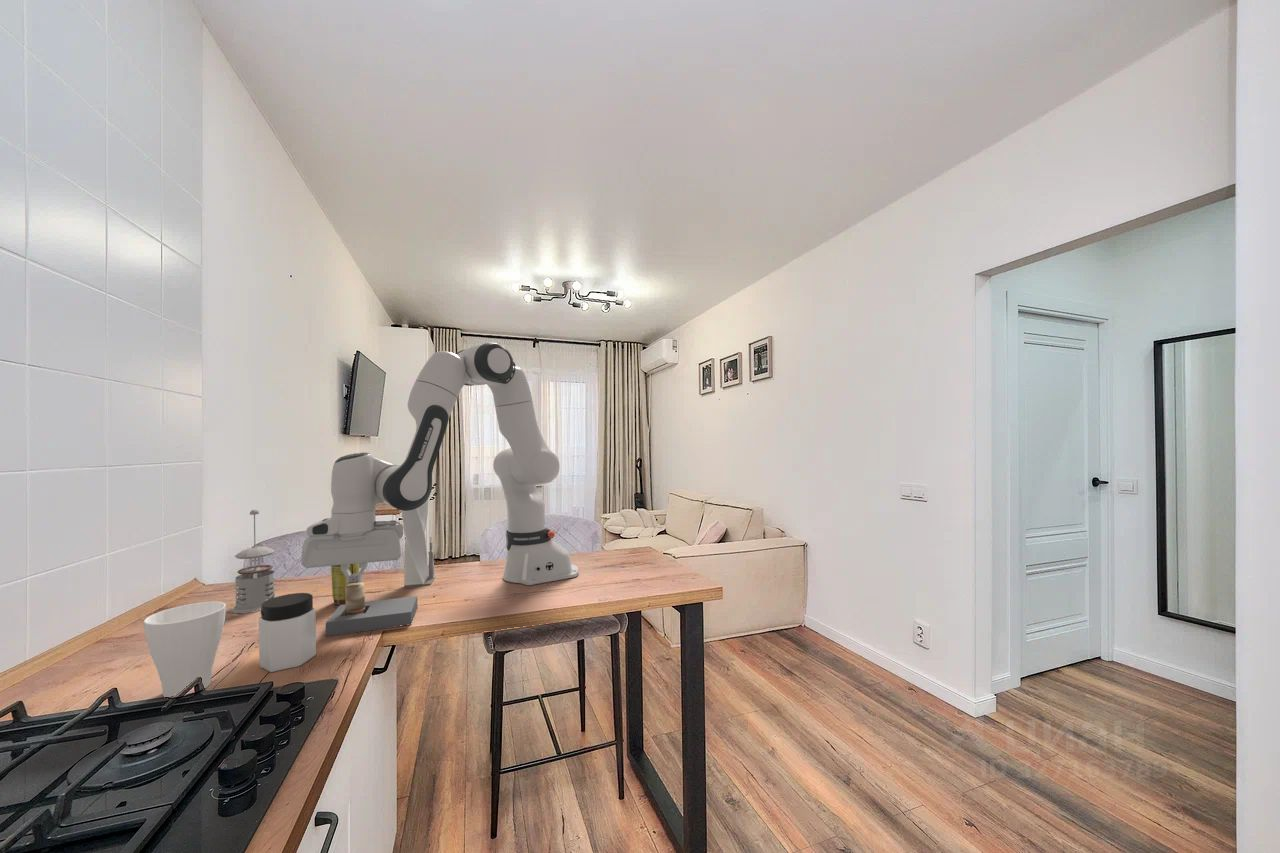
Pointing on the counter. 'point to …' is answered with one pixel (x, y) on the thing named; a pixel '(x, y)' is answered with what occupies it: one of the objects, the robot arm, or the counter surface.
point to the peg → (355, 598)
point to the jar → (287, 631)
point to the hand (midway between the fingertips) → (354, 582)
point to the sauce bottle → (341, 582)
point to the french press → (254, 579)
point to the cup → (185, 643)
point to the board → (373, 616)
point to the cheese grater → (417, 548)
